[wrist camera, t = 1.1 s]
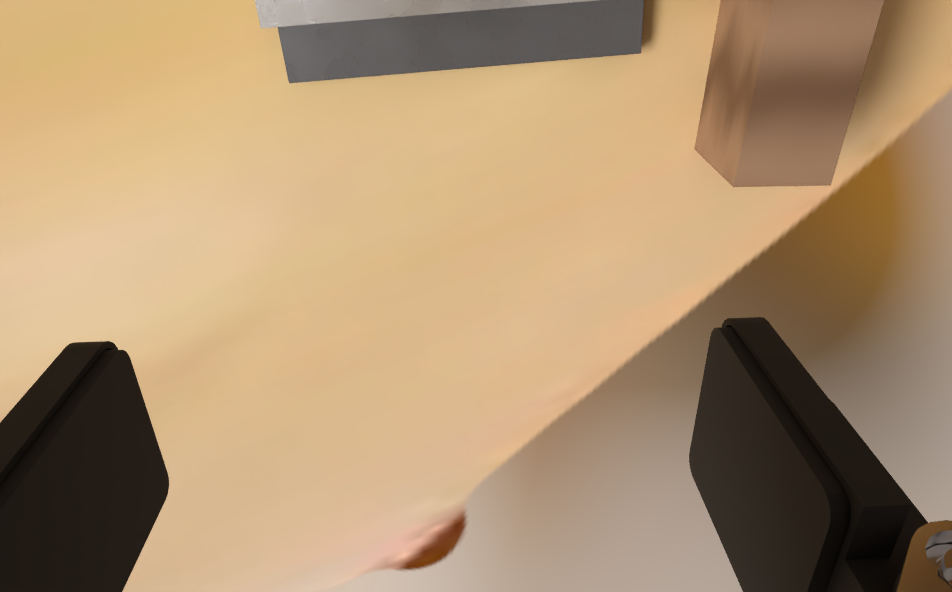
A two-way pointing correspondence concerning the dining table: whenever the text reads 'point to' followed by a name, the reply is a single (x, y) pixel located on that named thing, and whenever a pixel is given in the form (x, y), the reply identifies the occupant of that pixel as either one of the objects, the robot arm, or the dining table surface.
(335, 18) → the ridge stand
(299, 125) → the dining table surface
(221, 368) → the dining table surface
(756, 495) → the robot arm
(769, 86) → the brown wooden block
